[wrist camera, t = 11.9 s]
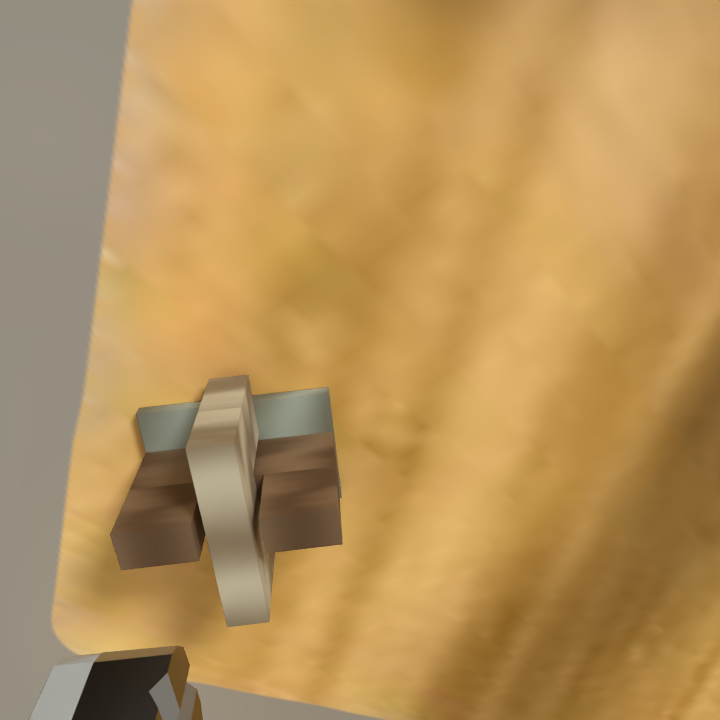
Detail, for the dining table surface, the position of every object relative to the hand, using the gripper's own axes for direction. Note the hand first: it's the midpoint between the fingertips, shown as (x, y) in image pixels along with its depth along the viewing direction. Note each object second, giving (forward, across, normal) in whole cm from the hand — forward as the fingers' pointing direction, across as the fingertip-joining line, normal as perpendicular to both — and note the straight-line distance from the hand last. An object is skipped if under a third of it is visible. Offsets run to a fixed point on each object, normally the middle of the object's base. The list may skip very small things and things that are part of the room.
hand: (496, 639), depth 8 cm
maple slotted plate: (+30, +9, +15) cm, 34 cm away
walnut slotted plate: (+30, +9, +15) cm, 35 cm away
